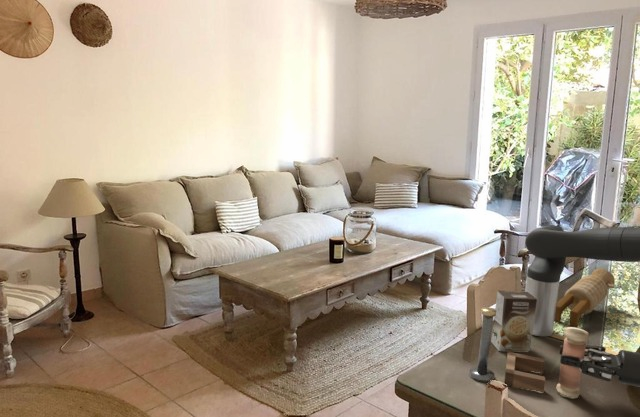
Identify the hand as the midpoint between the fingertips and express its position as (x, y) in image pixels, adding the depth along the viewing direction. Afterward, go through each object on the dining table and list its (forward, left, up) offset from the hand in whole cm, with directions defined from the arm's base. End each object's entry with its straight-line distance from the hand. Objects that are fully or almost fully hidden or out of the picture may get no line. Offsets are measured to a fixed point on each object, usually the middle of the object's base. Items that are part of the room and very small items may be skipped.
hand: (560, 354), depth 123 cm
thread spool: (0, +3, -10) cm, 10 cm away
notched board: (-3, -7, -10) cm, 12 cm away
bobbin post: (+1, -17, -10) cm, 20 cm away
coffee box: (-20, -11, -10) cm, 25 cm away
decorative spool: (-59, +10, -10) cm, 60 cm away
